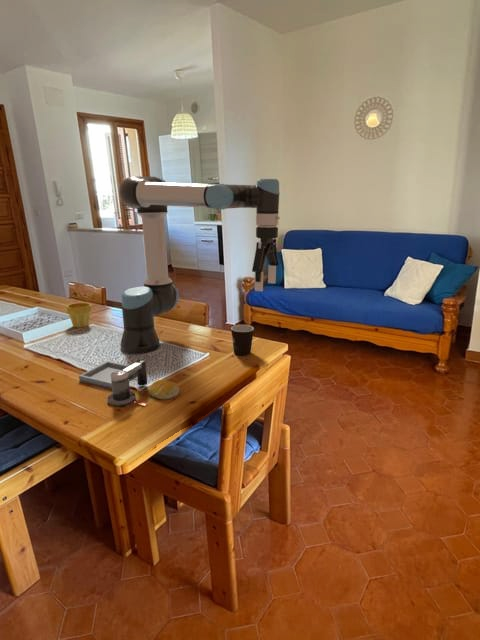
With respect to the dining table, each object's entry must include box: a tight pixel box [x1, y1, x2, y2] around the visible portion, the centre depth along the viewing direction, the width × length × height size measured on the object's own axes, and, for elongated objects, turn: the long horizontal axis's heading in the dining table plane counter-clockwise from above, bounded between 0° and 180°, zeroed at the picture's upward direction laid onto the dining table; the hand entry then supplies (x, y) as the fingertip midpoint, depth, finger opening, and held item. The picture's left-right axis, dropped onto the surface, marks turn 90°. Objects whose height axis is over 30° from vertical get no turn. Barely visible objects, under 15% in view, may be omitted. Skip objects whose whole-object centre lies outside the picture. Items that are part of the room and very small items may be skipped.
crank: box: [111, 359, 148, 386], centre depth 126 cm, size 14×5×8 cm, turn 156°
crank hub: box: [107, 379, 147, 408], centre depth 121 cm, size 12×8×7 cm, turn 66°
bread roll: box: [149, 379, 180, 400], centre depth 127 cm, size 8×9×4 cm
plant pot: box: [66, 302, 92, 329], centre depth 189 cm, size 10×10×10 cm
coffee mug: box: [230, 324, 255, 357], centre depth 159 cm, size 12×9×10 cm
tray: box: [78, 360, 137, 390], centre depth 138 cm, size 14×14×2 cm
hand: (265, 286), depth 148 cm, fingers open, 13 cm apart
